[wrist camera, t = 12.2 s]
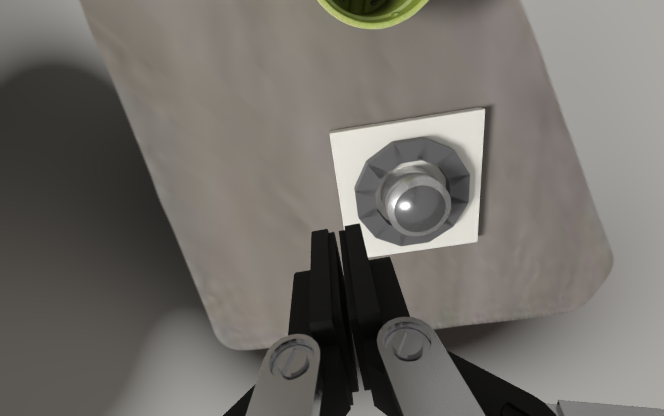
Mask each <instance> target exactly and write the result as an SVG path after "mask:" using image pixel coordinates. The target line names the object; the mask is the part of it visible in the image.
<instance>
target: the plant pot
mask: <svg viewBox="0 0 664 416" xmlns="http://www.w3.org/2000/svg"><path fill="white" fill-rule="evenodd" d="M317 1H318V2H319V3H320V4H321V6H322V7H323V8H324V9H325V10H326V11H327V12H329V13H330V14H331V15H332V16H334V17H335V18H337V19H338V20H340V21H342V22H344V23H346V24H348V25H351V26H354V27H357V28H362V29H383V28H388V27H391V26H394V25H397V24H399V23H401V22H403V21H405V20H406V19H408V18H410V17H411V16H413V15H414V14H415V13H417V12H418V11H419V10H420V9H421V8H422V7H423V6H424V5H425V4H426V3H427V2H428V1H429V0H380V1H379V2H378V3H376V4H375V5H371V4H370V2H371V1H373V0H345V1H341V0H317Z"/></svg>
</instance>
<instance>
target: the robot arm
mask: <svg viewBox="0 0 664 416" xmlns="http://www.w3.org/2000/svg"><path fill="white" fill-rule="evenodd" d="M339 236H340V244H341V253H342V262H343V271H344V275H343V271H342V266H341V261H340V256H339V252H338V247H337V242H336V237H335V233H334V232H331V233H329V232H328V229H324V230H319V231H313V232H312V237H311V270H309V271H303V272H297V273H295V274H294V281H293V291H292V301H291V311H290V321H289V331H288V336H286V337H284V338H281V339H280V340H278V341H277V342H276V343H274V344H273V345H272V347H271V348H270V349H269V350H268V352H267V354H266V356H265V358H264V360H263V363H262V366H261V369H260V373H259V376H258V379H257V382H256V384H255V385H254V386H253V387H252V388H251V389H250V390H249V391H248V392H247V393H246V394H245V395H244V396H243V397H242V398H241V399H240V400H239V401H238V402H237V403H236V404H235V405H234V406H232V407H231V408H230V409H229V410H228V412H226V413H225V414H224V415H223V416H346V415H347V413H348V412H349V411H350V409H351V407H350V405H353V397H352V392H358V391H359V387H358V379H357V370H356V362H355V353H354V345H353V339H354V344H355V348H356V353H357V357H358V362H359V367H360V371H361V375H362V380H363V385H364V390H371V392H372V396H373V401H374V406H376V407H377V408H378V409H379V410H381V411H382V412H383V413H385V414H386V415H387V416H664V410H663V409H657V408H646V407H634V406H623V405H611V404H599V403H587V402H575V401H564V400H558V403H557V404H546V403H544V402H542V401H541V400H539V399H538V398H536V397H535V396H533V395H531V394H529V393H528V392H526V391H524V390H522V389H520V388H518V387H516V386H514V385H512V384H510V383H508V382H507V381H505V380H503V379H501V378H499V377H497V376H495V375H493V374H491V373H489V372H487V371H485V370H484V369H481V368H480V367H478V366H476V365H474V364H472V363H470V362H468V361H466V360H464V359H463V358H460V357H459V356H457V355H455V354H453V353H451V352H449V351H447V350H445V348H444V346H443V345H442V343H441V341H440V339H439V338H438V336H437V335H436V333H435V331H434V330H433V329H432V328H431V327H430V325H428V324H427V323H425V322H424V321H422V320H419V319H416V318H414V317H410V315H409V312H408V309H407V306H406V303H405V300H404V298H403V295H402V292H401V289H400V286H399V283H398V280H397V277H396V274H395V271H394V268H393V265H392V262H391V259H390V257H385V258H379V259H374V260H368V256H367V252H366V247H365V243H364V239H363V234H362V230H361V226H360V223H359V224H353V225H347V226H345V230H343V231H339ZM352 334H353V336H352Z"/></svg>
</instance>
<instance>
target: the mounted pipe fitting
mask: <svg viewBox="0 0 664 416" xmlns="http://www.w3.org/2000/svg"><path fill="white" fill-rule="evenodd" d="M484 120H485V109H483V108H480V107H478V108H471V109H465V110H459V111H453V112H446V113H440V114H434V115H427V116H421V117H415V118H408V119H402V120H396V121H389V122H383V123H377V124H370V125H364V126H358V127H351V128H345V129H339V130H332V131H329V133H330V140H331V146H332V153H333V159H334V166H335V172H336V179H337V185H338V192H339V198H340V205H341V211H342V218H343V225H344V230H345V226H347V225H353V224H359V223H360V226H361V230H362V234H363V239H364V243H365V247H366V252H367V256H368V257H375V256H382V255H389V254H396V253H403V252H410V251H417V250H424V249H431V248H438V247H444V246H451V245H458V244H465V243H472V242H477V238H478V221H479V204H480V187H481V171H482V154H483V137H484ZM406 166H419V167H422V168H425V169H426V170H428V171H429V172H430V173H431V174H432V175H433V176H434V177H435V178H436V179H437V180H438V181H439V182H440V183H441V184H442V185H443V186H444V187H445V189H446V190H447V191H448V193H449V195H450V198H451V210H450V213H449V216H448V218H447V219H446V221H445V222H444V223H443V224H442V226H440V227H439V228H438V229H437V230H435V231H433V232H432V233H429V234H427V235H423V236H408V235H405V234H402V233H400V232H399V231H397V230H396V229H395V228H394V227H393V226H392V224H391V222H390V220H389V218H388V215H387V213H386V210H385V208H384V206H383V203H382V200H381V190H382V186H383V184H384V182H385V180H386V179H387V178H388V176H389V175H390V174H392V173H393V172H394V171H396V170H397V169H400V168H402V167H406Z"/></svg>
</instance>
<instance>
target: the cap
mask: <svg viewBox="0 0 664 416" xmlns="http://www.w3.org/2000/svg"><path fill="white" fill-rule="evenodd" d="M381 200H382V203H383V206H384V208H385V210H386V213H387V215H388V218H389V220H390V222H391V224H392V226H393V227H394V228H395V229H396V230H397V231H399V232H400V233H402V234H405V235H408V236H423V235H427V234H429V233H432V232H433V231H435V230H437V229H438V228H439V227H440V226H442V224H443V223H444V222H445V221H446V219H447V218H448V216H449V213H450V210H451V198H450V195H449V193H448V191H447V190H446V189H445V187H444V186H443V185H442V184H441V183H440V182H439V181H438V180H437V179H436V178H435V177H434V176H433V175H432V174H431V173H430V172H429V171H428V170H426V169H425V168H422V167H419V166H406V167H402V168H400V169H397V170H396V171H394V172H393V173H392V174H390V175H389V176H388V178H387V179H386V180H385V182H384V184H383V186H382V190H381Z"/></svg>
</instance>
